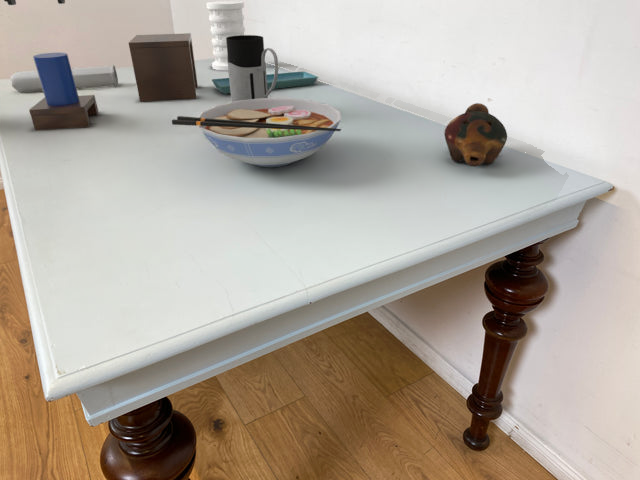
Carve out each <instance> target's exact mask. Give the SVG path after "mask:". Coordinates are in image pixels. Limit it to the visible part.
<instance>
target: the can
mask: <svg viewBox="0 0 640 480" xmlns="http://www.w3.org/2000/svg"><path fill="white" fill-rule="evenodd" d="M32 58H33V61H34V64H35V68H36V71H37V72H38V75H39V78H40V82H41V85H42V89H43V91H42V92H43V95H44V98H45V99H46V102H47V104H48V105H51V106H62V105H69V104H74V103H77V102H78V101H79V97H78V96H79V93H78V88H76V85H75V81H74V77H73V74H72V70H71V68H72V66H71V62H70V58H69V55H68V53H66V52H45V53H44V52H43V53H38V54H35V55H33V57H32Z"/></svg>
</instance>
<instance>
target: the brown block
mask: <svg viewBox="0 0 640 480" xmlns="http://www.w3.org/2000/svg"><path fill="white" fill-rule="evenodd" d="M193 47H194V45H193V41H192V33H190V32H188V33H187V32H186V33H158V34H136V35H135V36H134V37H133V38H132V39H131V40H130V41H129V42H128V49H129V52H130V57H131V61H132V62H131V63H132V67H133V73H134V77H135V84H136V88H137V93H138V99H139V102H140V103H142V102H163V101H180V100H196V99H197V96H198V95H197V89H198V88H199V84H198V77H197V70H196V69H197V68H196V62H195V55H194V48H193Z"/></svg>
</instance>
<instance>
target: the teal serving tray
mask: <svg viewBox="0 0 640 480" xmlns="http://www.w3.org/2000/svg"><path fill="white" fill-rule="evenodd" d="M266 76H267V91H269V89H270V88H271V86H272V83H273V79H274V73H269V74H267V73H266ZM318 78H319V77H318V76H317V75H315V74H312V73H310V72H308V71H303V70H302V71H291V72H290V71H289V72H280V73H279V72H278V77H277V81H276V84H275V87H274V89H273V90H275V89H276V90H277V89H284V88H294V87H302V86H303V87H304V86H313V85H315V83H316V82H317V80H318ZM211 82H212V83H213V85H214V86H215V89H217V90H218V91H219V92H221V93H223V94H224V95H226V94H227V95H228V94H231V91H230V81H229V77H225V78H224V77H223V78H221V77H220V78H213V79H211Z"/></svg>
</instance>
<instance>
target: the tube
mask: <svg viewBox="0 0 640 480" xmlns="http://www.w3.org/2000/svg"><path fill="white" fill-rule="evenodd" d="M71 70H72V74H73V77H74V81H75V85H76V89H88V88H103V87H118V86H119V77H118V73H117V69H116V66H115V64H111V65H104V66H88V67H73V68H72V67H71ZM10 82H11V87H12V88H13V89H14V90H15V91H17V92H19V93H34V92H43V89H42V85H41V82H40V78H39V75H38V72H37V70H28V71H27V70H25V71H16V72H15V73H13V74H11V75H10Z"/></svg>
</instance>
